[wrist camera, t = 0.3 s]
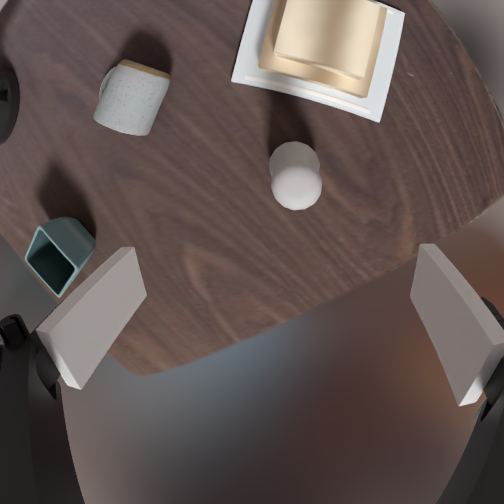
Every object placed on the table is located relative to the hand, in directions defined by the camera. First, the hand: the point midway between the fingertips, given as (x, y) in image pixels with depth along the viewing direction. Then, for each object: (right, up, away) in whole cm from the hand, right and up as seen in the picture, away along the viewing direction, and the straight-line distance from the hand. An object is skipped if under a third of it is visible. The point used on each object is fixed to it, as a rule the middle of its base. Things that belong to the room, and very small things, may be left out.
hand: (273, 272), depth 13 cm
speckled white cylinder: (-16, +21, +20) cm, 34 cm away
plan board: (+7, +26, +15) cm, 31 cm away
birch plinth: (+7, +26, +15) cm, 31 cm away
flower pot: (-29, +3, +31) cm, 43 cm away
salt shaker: (+4, +12, +22) cm, 26 cm away
